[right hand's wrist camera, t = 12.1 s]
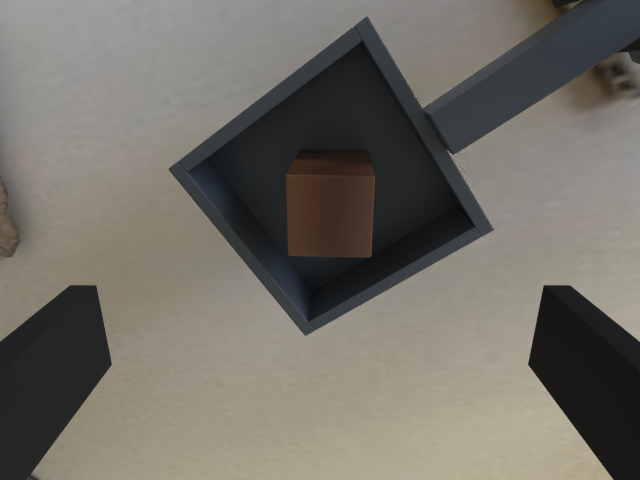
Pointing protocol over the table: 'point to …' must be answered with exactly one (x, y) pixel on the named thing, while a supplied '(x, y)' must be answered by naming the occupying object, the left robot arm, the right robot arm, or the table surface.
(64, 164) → the table surface
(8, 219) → the stone
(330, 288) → the slate tray
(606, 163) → the table surface
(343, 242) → the walnut block
